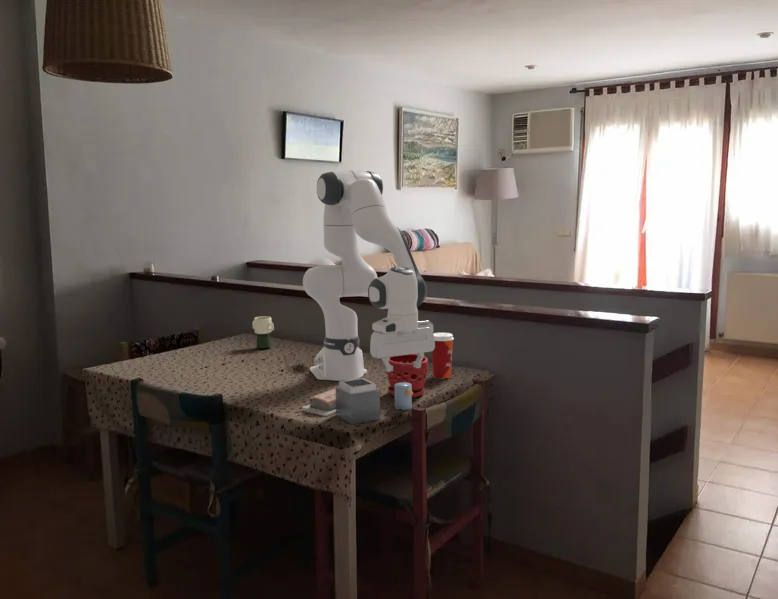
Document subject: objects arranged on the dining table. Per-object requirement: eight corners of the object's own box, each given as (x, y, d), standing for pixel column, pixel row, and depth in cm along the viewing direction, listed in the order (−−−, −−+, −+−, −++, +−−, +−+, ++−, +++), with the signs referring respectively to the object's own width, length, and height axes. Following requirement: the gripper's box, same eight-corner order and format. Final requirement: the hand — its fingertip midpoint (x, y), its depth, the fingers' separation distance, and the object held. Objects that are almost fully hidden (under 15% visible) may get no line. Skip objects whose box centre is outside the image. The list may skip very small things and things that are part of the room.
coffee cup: (455, 379, 230) (455, 336, 227) (431, 380, 229) (431, 337, 227) (451, 373, 238) (451, 331, 236) (428, 374, 237) (428, 332, 235)
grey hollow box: (336, 414, 193) (335, 381, 192) (364, 409, 198) (363, 376, 196) (351, 424, 185) (350, 389, 183) (380, 419, 189) (379, 384, 188)
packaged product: (339, 382, 211) (365, 387, 206) (340, 397, 212) (365, 402, 206) (300, 396, 197) (327, 402, 191) (301, 412, 198) (327, 418, 192)
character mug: (279, 347, 282) (278, 317, 280) (268, 351, 276) (267, 320, 274) (259, 345, 287) (257, 315, 285) (248, 348, 281) (246, 318, 279)
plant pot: (385, 400, 207) (385, 362, 205) (387, 388, 220) (387, 352, 218) (428, 400, 206) (428, 362, 204) (427, 388, 219) (427, 352, 217)
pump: (391, 406, 201) (391, 383, 200) (406, 404, 203) (406, 381, 202) (403, 413, 195) (403, 389, 194) (418, 410, 197) (418, 387, 196)
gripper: (427, 318, 203) (427, 363, 205) (367, 324, 194) (368, 371, 195) (438, 321, 198) (439, 367, 200) (377, 327, 188) (378, 376, 190)
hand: (403, 369), depth 197 cm, fingers open, 8 cm apart
